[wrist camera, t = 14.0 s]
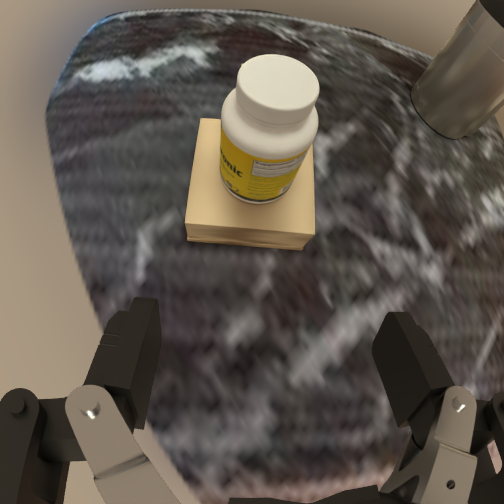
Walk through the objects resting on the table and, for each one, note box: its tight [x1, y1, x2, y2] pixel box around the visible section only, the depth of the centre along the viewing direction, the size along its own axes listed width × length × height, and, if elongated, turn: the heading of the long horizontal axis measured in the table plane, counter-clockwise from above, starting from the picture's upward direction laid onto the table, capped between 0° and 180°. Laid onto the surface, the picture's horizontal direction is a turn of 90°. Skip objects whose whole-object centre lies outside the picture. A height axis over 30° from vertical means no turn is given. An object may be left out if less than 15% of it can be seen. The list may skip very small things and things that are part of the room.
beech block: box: [185, 118, 315, 251], centre depth 25 cm, size 9×9×4 cm
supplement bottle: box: [220, 54, 319, 204], centre depth 18 cm, size 5×5×10 cm
